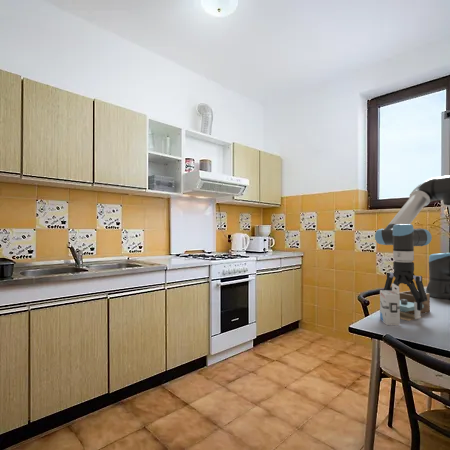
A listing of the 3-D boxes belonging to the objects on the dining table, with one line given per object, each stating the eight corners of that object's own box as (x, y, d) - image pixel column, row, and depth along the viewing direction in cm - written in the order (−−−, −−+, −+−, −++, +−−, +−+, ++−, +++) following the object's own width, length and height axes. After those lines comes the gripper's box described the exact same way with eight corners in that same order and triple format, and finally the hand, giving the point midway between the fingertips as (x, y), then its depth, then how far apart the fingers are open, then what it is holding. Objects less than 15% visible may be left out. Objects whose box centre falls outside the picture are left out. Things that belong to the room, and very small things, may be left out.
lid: (400, 305, 135) (400, 296, 135) (423, 310, 126) (423, 300, 126) (385, 308, 130) (385, 298, 130) (408, 313, 122) (408, 303, 122)
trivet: (400, 312, 134) (400, 311, 134) (421, 317, 126) (421, 316, 126) (387, 315, 130) (387, 314, 130) (408, 320, 122) (408, 319, 122)
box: (411, 307, 142) (411, 290, 142) (429, 311, 135) (429, 293, 135) (398, 310, 137) (397, 292, 138) (416, 315, 130) (415, 296, 130)
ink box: (379, 318, 125) (379, 282, 126) (392, 319, 124) (392, 282, 125) (386, 325, 117) (385, 286, 117) (400, 326, 116) (399, 286, 116)
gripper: (373, 259, 137) (374, 309, 137) (426, 264, 117) (427, 323, 117) (384, 258, 140) (385, 307, 140) (437, 263, 120) (438, 320, 120)
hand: (404, 314), depth 128 cm, fingers closed on lid, 10 cm apart
